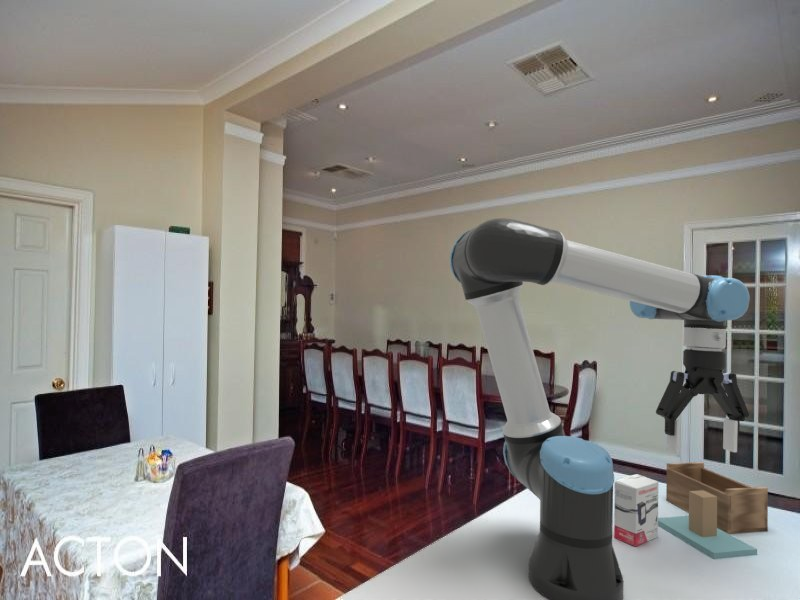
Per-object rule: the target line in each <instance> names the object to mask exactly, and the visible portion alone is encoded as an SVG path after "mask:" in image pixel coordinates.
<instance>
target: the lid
mask: <svg viewBox="0 0 800 600" xmlns="http://www.w3.org/2000/svg"><path fill="white" fill-rule="evenodd" d="M658 528H661V529H663V530H665V531H667V533H669V534H671V535H673V536H674V537H676V538H678V539H679V540H681V541H683V542H685V543H687V544H688V545H690V546H691V547H692V548H694V549H696V550H697V551H700V552H701V553H703V554H704V555H706V556H708V557H710V559H711V558H712V559H713V560H719V559H729V558H730V559H731V558H739V557H748V556H757V555H758V548H756V547H754V546H752V545H751V544H749V543H747V542H745V541H743V540H741V539H739V538H737V537H735V536H734V535H732V534H728V533H726V532H724V531H722V530H720V529H718V528H717V496H715V495H712V494H710V493H708V492H706V491H703V490H701V491H689V513H688V515H683V516H681V515H679V516H668V517H658Z"/></svg>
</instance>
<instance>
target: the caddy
mask: <svg viewBox="0 0 800 600" xmlns="http://www.w3.org/2000/svg"><path fill="white" fill-rule="evenodd" d="M665 486H666V492H665V493H666V496H665V497H666V502H669V503H671V504H672V505H674V506H676V507H678V508H679V509H681V510H683V511H685V512H687V513H688V514H689V491H701V490H703V491H706V492H708V493H710V494H712V495H715V496H717V528H718V529H720V530H722V531H724V532H726V533H728V534H729V535H732V534H743V533H744V534H747V533H761V532H768V531H769V530H768V529H769V526H768V525H769V523H768V522H769V521H768V519H769V518H768V516H769V515H768V513H769V512H768V511H769V510H768V509H769V505H768V504H769V502H768V501H769V499H768V497H769V493H768V492H769V488H768V487H766V486H759V487H758V486H756V487H752V486H749V485H746V484H745V483H742V482H739V481H737V480H735V479H732V478H731V477H730V478H729V477H727V476H725V475H722V474H720V473H718V472H715V471H713V470H710V469H708V468H705V463H704V462H702V461H698V462H672V463H671V462H670V463H666V485H665Z"/></svg>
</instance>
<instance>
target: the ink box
mask: <svg viewBox="0 0 800 600" xmlns="http://www.w3.org/2000/svg"><path fill="white" fill-rule="evenodd" d="M613 507H614V508H613V511H614V513H613V514H614V517H613V519H614V522H613V524H614V525H613V526H614V529H613V530H614V531H613V532H614V533H613V534H614V536H613V537H614V539H617V540H618V541H621V542H624V543H625V544H628V545H631V546H633V547H638V546H640V545H642V544H645V543H646V542H649V541H652V540H654V539H656V538H658V537H659V536H658V535H659V529H658V528H659V526H658V518H659V481H657V480H655V479H652V478H649V477H646V476H644V475H641V474H638V473H636V474H632V475H628V476H624V477H621V478H619V479H616V480H614V503H613Z"/></svg>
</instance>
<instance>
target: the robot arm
mask: <svg viewBox="0 0 800 600" xmlns="http://www.w3.org/2000/svg"><path fill="white" fill-rule="evenodd" d="M449 265H450V266H449V267H450V270H451V272H452V275H453V276H454V278H455V279H456V280H457V281H458V283H459V284H460V285H461V288H462V292H463V296H464V298H465V302H466V303H469V304H470V305H472V306H473V307H475V310H476V313H477V317H478V320H479V324H480V327H481V332H482V335H483V339H484V342H485V346H486V349H487V352H488V356H489V359H490V363H491V368H492V371H493V374H494V378H495V382H496V385H497V389H498V392H499V395H500V399H501V402H502V406H503V409H504V414H505V416H506V420H507V421H506V423H505V424H504V426H503V428H502V435H503V437H504V442H503V451H502V452H503V453H502V454H503V459H504V462H505V465H506V467H507V468H508V470H509V472H510V474H511V475H512V476H513V477H514V478H515V479H516V480H517V482H519V483H520V484H521V485H523V486H524V487H525V488H526V489H528V491H530V492H531V493H532V494H533V495H534V496H536V497H537V499H538V500H539V505H540V506H539V532H538V535H537V538H536V540H535V543H534V546H533V549H532V552H531V555H530V557H529V559H528V580H529V582H530V584H531V585H532V586H533V588H534V589H535V590H536V591H538V593H540V594H541V595H542V596H544V597H546V598H547V599H549V600H623V598H624V577H623V574H622V570H621V568H620V565H619V562H618V559H617V555H616V552H615V548H614V545H613V526H614V525H613V524H614V522H613V519H614V517H613V514H614V513H613V511H614V508H613V507H614V484H615V473H614V464H613V459H612V457H611V455H610V453H609V452H608V451H607V450H606V449H605V448H604V447H602V446H601V445H599V444H598V443H595V442H593V441H590V440H585V439H583V438H582V437H578V436H577V437H576V436H572V435H571V436H569V435H566V433H565V431H564V427H563V424H562V419H561V417H560V416H558V415H557V414H555V413H553V412H552V411H551V410H550V407H549V403H548V400H547V395H546V392H545V388H544V384H543V382H542V378H541V375H540V370H539V367H538V362H537V360H536V356H535V353H534V349H533V345H532V342H531V337H530V334H529V331H528V327H527V324H526V323H527V322H526V319H525V316H524V312H523V309H522V305H521V302H520V298H519V294H520V293H521V291H522V289H523V287H524V283H531V284H537V285H541V286H548V285H549V284H551V283H556V284H561V285H563V286H564V285H565V286H568V287H572V288H576V289H581V290H585V291H589V292H591V293H597V294H601V295H604V296H609V297H612V298H616V299H621V300H626V301H629V307H630V311H631V312H632V314H633V315H635V316H636V317H637V318H640V319H648V320H674V321H675V320H678V321H683V344H682V345H683V346H684V347H686V348H685V349H684V350H683V352H682V353H683V354H682V355H683V356H682V363H683V364H682V365H683V366H684V367H685V369H684V372H682V371H677V370H672V371H671V372H670V376H669V382H668V384H667V386H666V388H665V391H664V393H663V394H662V395H663V396H661V397H662V398H661V399H660V402H659V403H658V406H657V408H656V410H655V414H656V415H658V416H660V417H662V418H663V419H664V433H665V435H666V450H667V451H670V452H672V453H675V454H680V452H681V451H680V449H681V447H680V446H681V420H678V418H679V417H680V415H681V414H682V412H684V410H685V409H686V407H687V406H688V405H689V404H690V402H691V401H692V399H693V398H694V397H697V396H698V395H706V394H707V395H711V396H712V397H713V399H715V401H716V403H717V404H718V405H719V407H720V408H721V410H722V411H723V412H724V413H725V415H726V417H727V418H726V417H723V428H722V429H723V430H722V431H723V434H722V435H723V437H722V440H723V441H722V449H723V450H725V451H728V452H731V453H738V436H739V435H740V426H741V425H740V424H741V423H740V422H744V421H745V420H746V418H748V417H749V416H750V413H749V410H748V407H747V405H746V403H745V400H744V397H743V395H742V393H741V390H740V388H739V385H738V382H737V381H738V380H737V379H738V377H737V374H736V373H733V372H727V371H723V370H725V368H726V358H727V357H726V355H727V354H726V353H725V351H723V350H725V348H726V347H727V346H726V345H727V342H726V340H727V337H726V336H727V321H735V320H737V319H740V318H741V317H743V316H744V315H745V314H746V313H747V310H748V309H749V305H750V300H751V299H750V298H751V295H750V292H749V290H748V287H747V286H746V284H744V283H743V282H742V281H741V280H739V279H738V278H734V277H723V276H722V275H712V274H711V275H702V274H701V275H699V274H695V273H691V272H688V271H684V270H680V269H676V268H672V267H668V266H665V265H662V264H657V263H654V262H650V261H647V260H643V259H640V258H639V259H638V258H636V257H631V256H629V255H628V256H627V255H625V254H620V253H617V252H613V251H609V250H607V249H606V250H605V249H602V248H597V247H595V246H591V245H587V244H584V243H580V242H577V241H576V242H575V241H572V240H569V239H566V237H565V236H564V233H562V232H561V231H558V230H555V229H550V228H547V227H543V226H541V225H537V224H534V223H529V222H527V221H522V220H517V219H514V218H513V219H512V218H506V217H503V218H502V217H500V218H492V219H489V220H486V221H485V220H484V222H482V223H480V224H478V225H477V226H475V227H474V228H471V229H469V230H467V231H466V232H464V233H463V234H461V235H460V237H458V238H457V240H456V241H455V243H454V244H453V246H452V248H451V251H450V255H449ZM523 282H524V283H523Z"/></svg>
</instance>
